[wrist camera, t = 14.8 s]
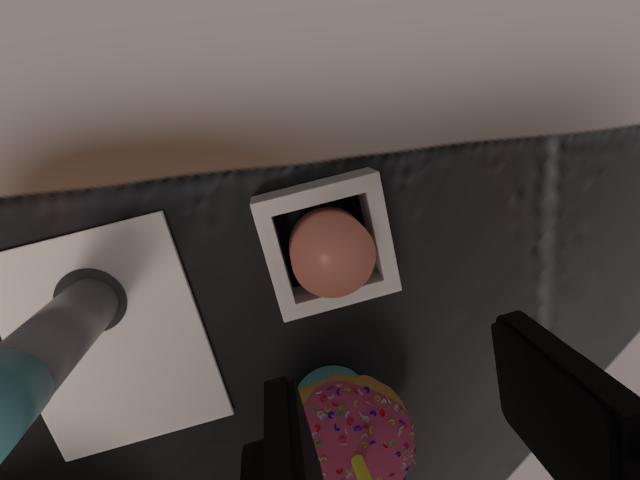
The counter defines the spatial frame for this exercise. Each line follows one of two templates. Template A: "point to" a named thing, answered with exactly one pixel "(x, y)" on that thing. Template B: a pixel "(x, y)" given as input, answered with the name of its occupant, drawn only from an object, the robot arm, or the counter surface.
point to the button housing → (314, 193)
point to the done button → (331, 252)
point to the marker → (49, 353)
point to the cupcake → (357, 425)
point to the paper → (120, 336)
